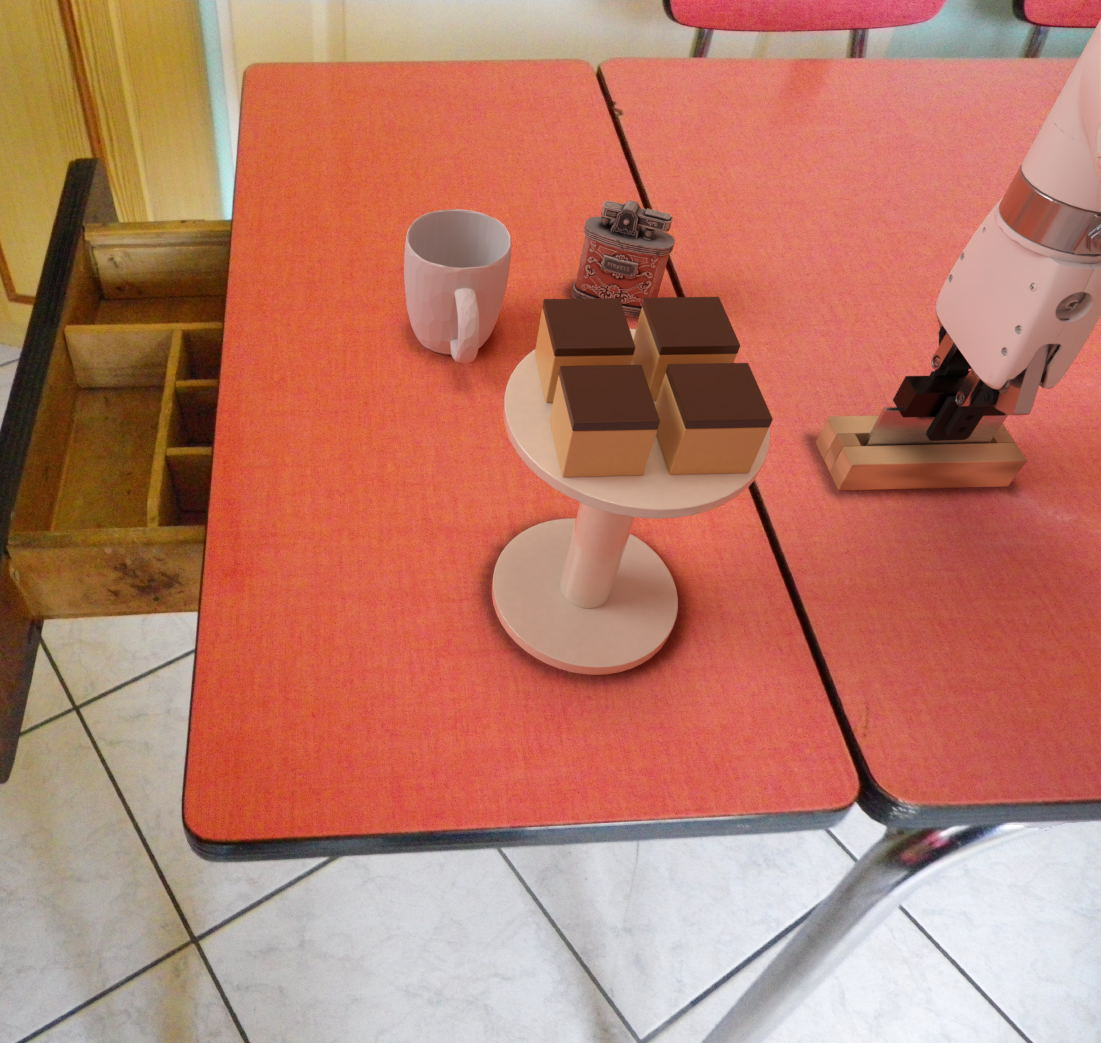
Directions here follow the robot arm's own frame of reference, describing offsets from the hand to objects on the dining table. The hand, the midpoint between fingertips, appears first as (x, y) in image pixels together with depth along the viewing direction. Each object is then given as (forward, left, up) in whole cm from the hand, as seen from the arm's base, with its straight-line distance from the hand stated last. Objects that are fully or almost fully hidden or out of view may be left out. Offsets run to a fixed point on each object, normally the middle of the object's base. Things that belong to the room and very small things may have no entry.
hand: (938, 423), depth 74 cm
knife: (0, 0, -4) cm, 4 cm away
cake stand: (+15, +28, -5) cm, 32 cm away
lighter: (+30, -4, -5) cm, 30 cm away
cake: (+15, +28, +13) cm, 34 cm away
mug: (+38, +11, -5) cm, 40 cm away
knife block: (0, 0, -5) cm, 5 cm away
